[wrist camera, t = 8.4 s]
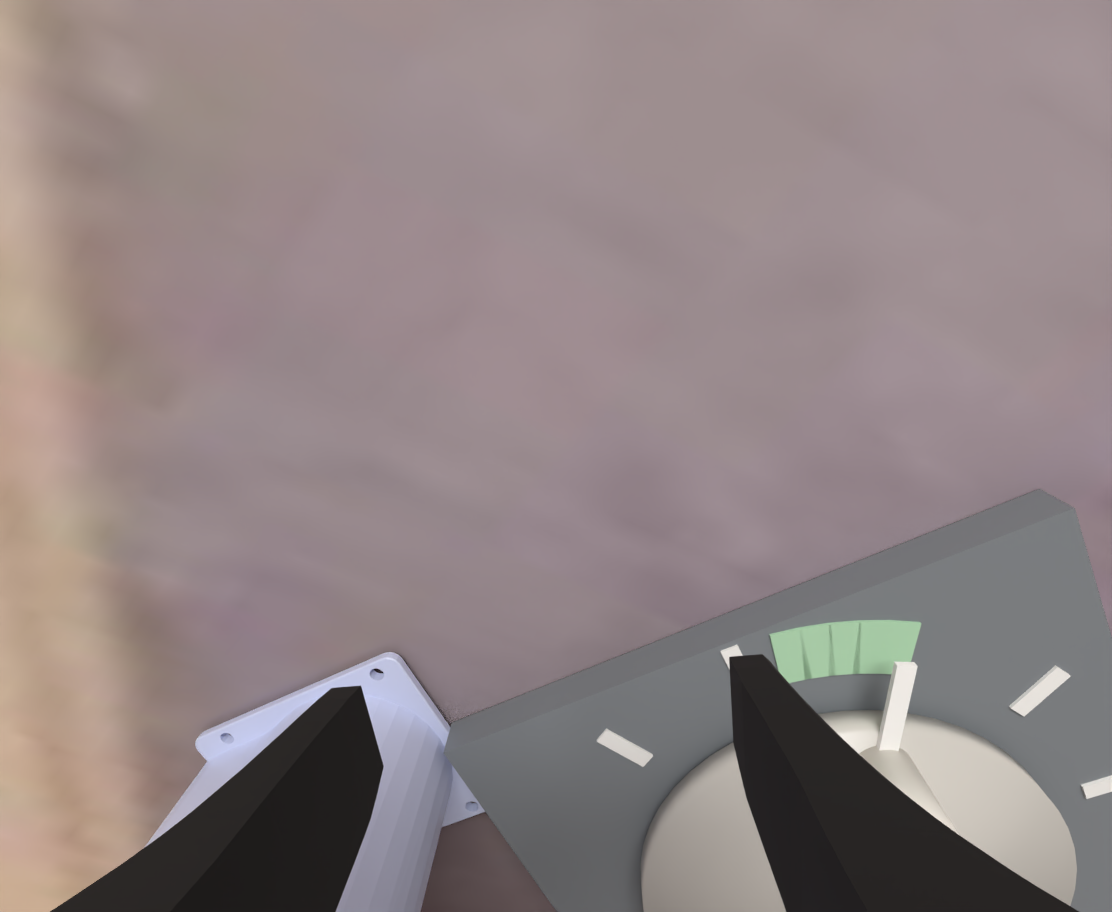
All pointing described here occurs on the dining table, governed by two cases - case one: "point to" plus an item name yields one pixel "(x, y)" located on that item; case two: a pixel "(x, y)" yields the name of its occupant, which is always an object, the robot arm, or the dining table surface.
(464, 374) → the dining table surface
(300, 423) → the dining table surface
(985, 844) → the beige oval dome
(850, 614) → the tuner board
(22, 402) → the dining table surface
